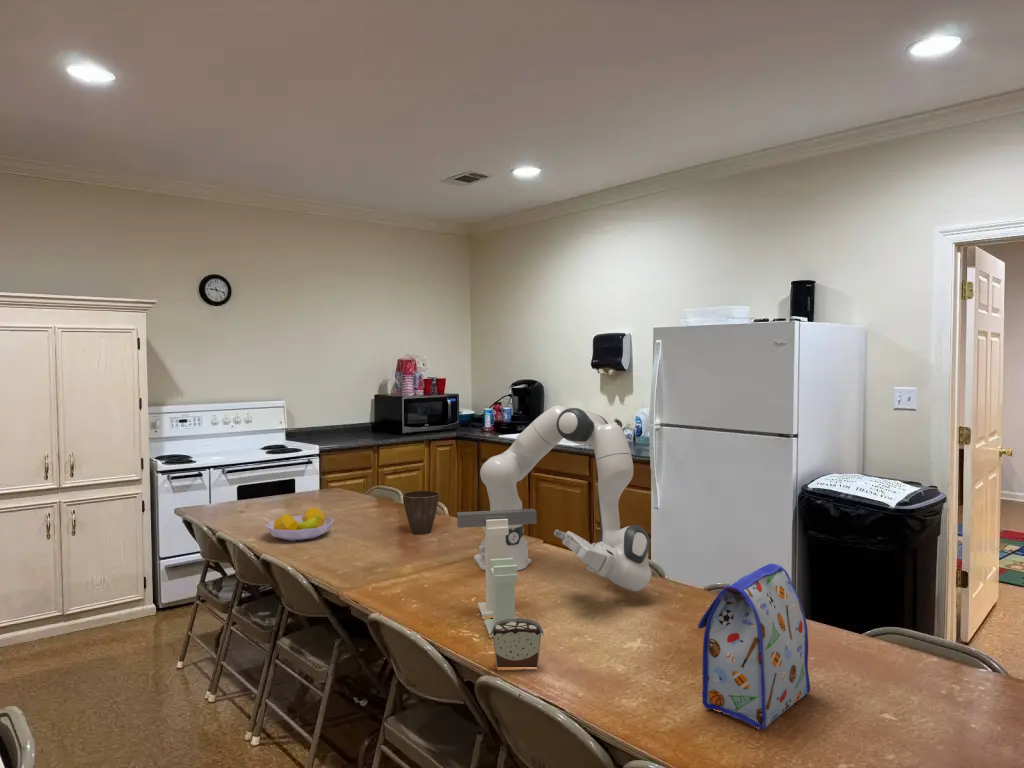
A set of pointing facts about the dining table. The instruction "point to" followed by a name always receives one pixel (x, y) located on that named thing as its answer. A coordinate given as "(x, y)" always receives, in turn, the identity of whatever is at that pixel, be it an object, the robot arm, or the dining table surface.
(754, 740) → the dining table surface
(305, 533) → the fruit bowl
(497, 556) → the tall stand
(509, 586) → the low stand
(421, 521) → the plant pot
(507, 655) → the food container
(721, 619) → the lunch bag
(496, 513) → the metal bar
